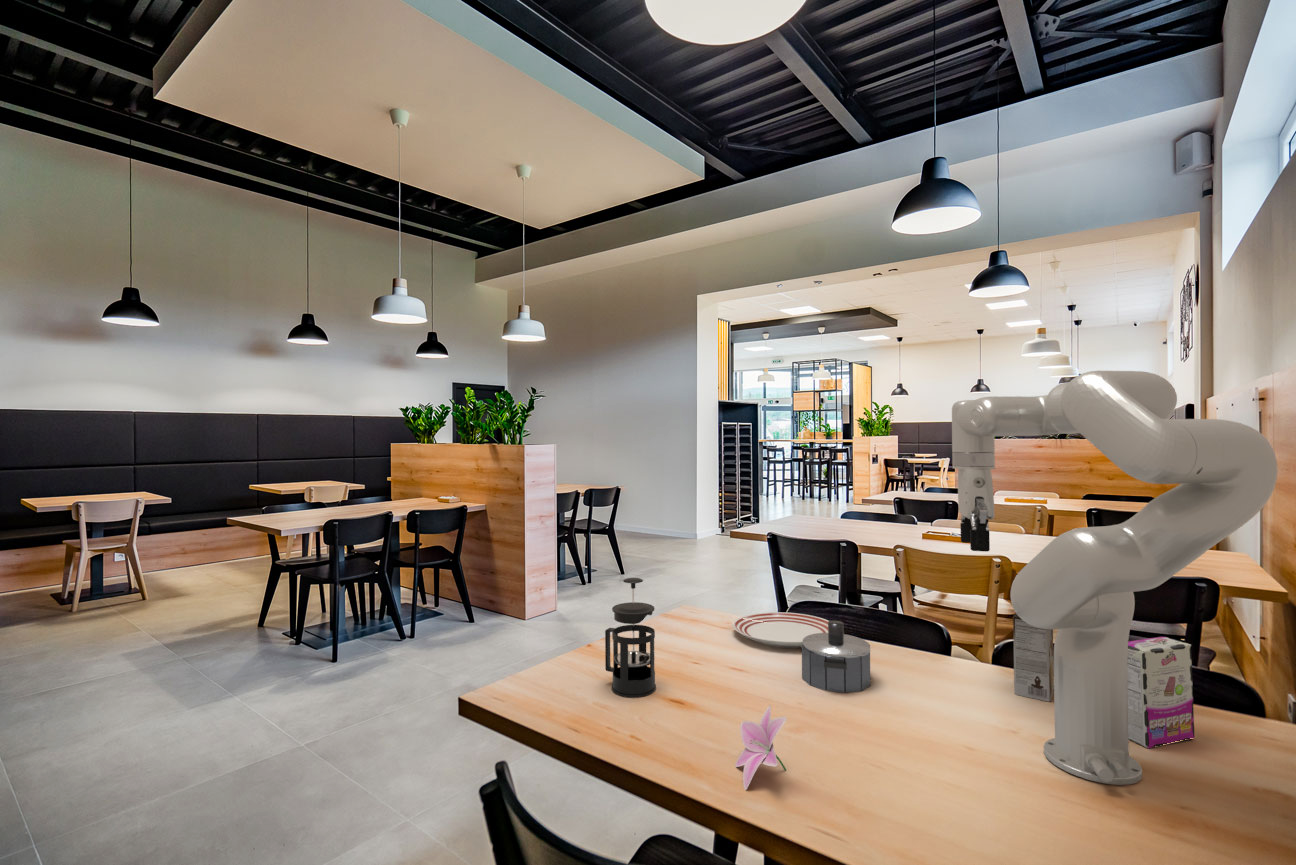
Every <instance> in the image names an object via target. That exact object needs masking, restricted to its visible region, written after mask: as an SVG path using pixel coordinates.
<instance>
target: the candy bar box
mask: <svg viewBox="0 0 1296 865" xmlns="http://www.w3.org/2000/svg"><path fill="white" fill-rule="evenodd" d="M1192 661H1193V660H1192V644H1190V643H1187V642H1183V641H1181V640H1177V639H1174V638H1171V637H1170V638H1169V637H1167V636H1158V637H1157V636H1156V637H1150V638H1143V639H1136V640H1131V641H1130V640H1128V673H1127V680H1128V738H1129V741H1130V740H1131V741H1130V742H1132V741H1133V743H1134V742H1135V744H1137V743H1138V744H1137V745H1139V744H1140V745H1139V746H1141V745H1142V747H1143V746H1144V747H1143V748H1147V749H1153V748H1152V747H1154V748H1156V747H1155V746H1159V747H1161V746H1160V745H1163V744H1167V743H1171V742H1175V741H1180V740H1185V739H1190V738H1194V737H1196V736H1195V716H1194V692H1193V687H1194V686H1193V667H1192V666H1193V665H1192V664H1193V663H1192Z"/></svg>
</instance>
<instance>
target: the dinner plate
mask: <svg viewBox="0 0 1296 865" xmlns="http://www.w3.org/2000/svg"><path fill="white" fill-rule="evenodd" d="M743 618H746V619H743ZM747 619H752V620H758V621H763V622H756V621H752V620H747ZM829 621H830V620H828V619H825V618H822V617H819V616H815V615H810V614H805V613H796V612H787V611H786V612H780V611H776V612H775V611H773V612H758V613H751V614H747V615H744V616H740V617H739V618H736V619H735V620H734V621H733V622H732V629H733V630H735V631H736V632H737V633H739V634H740V635H742V636H744V637H745V638H747V639H749V640H752V641H754V642H757V643H760V644H763V645H766V646H770V647H777V648H792V649H794V648H802V642H803V639H804V637H806V636H808V635H811V634H816V633H828V622H829ZM764 622H767V623H764ZM769 623H775V624H769Z"/></svg>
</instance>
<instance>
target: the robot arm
mask: <svg viewBox="0 0 1296 865" xmlns="http://www.w3.org/2000/svg"><path fill="white" fill-rule="evenodd" d="M1177 404H1178V396H1177V392H1176V389H1175V388H1174V385H1172V383H1171V382H1169V381H1168V380H1167V379H1165V378H1164V377H1163V376H1160V375H1158V374H1156V373H1152V372H1150V371H1149V372H1147V371H1142V370H1139V371H1138V370H1091V371H1087V372H1084V373H1080V374H1079V375H1077V376H1075V377H1073V378H1072V379H1071V380H1070V381H1069V382H1062V383H1060V384H1059V383H1058V385H1055V386H1054V387H1053V388H1052V389H1051V390H1050V391H1049V392H1048V394H1046V395H1045V394H1044V395H1038V396H1037V395H1036V396H1018V395H1016V396H983V397H979V398H976V399H967V400H966V399H965V400H958V401H956V402H954V403H953V404H952V407H951V450H952V454H951V455H952V460H951V461H952V462H951V463H952V469H954V470H955V469H958V470H957V473H958V475H957V500H958V502H957V503H958V511H959V513H960V515H961V516H960V524H959V526H960V542H961V543H963V544H964V543H965V544H970V550H971V551H973V552H990V549H991V548H990V546H991V545H990V542H991V541H990V525H989V520H993V519H995V515H996V514H995V498H994V485H993V475H992V470H995V469H996V459H995V458H996V456H995V454H996V453H995V451H996V450H995V447H996V446H995V437H1033V436H1034V437H1035V436H1036V437H1037V436H1050V435H1062V434H1066V435H1072V434H1080V435H1082V436H1083V437H1084V438H1085V439H1086V440H1087V441H1088V442H1089V443H1090V444H1092V445H1093V446H1094V447H1095V449H1097V450H1099V451H1100V452H1101V454H1103V455H1104V456H1105V457H1106V458H1107V459H1108V460H1109V461H1110V462H1112V463H1113V464H1114V465H1115V466H1116V467H1118V469H1120V470H1121V471H1122V472H1124V473H1125V474H1126V475H1128V476H1130V477H1132V478H1134V479H1135V480H1138V481H1141V482H1143V483H1144V482H1145V483H1147V484H1153V485H1154V484H1155V485H1156V484H1157V485H1171V484H1174V485H1176V484H1177V485H1176V486H1175V487H1173V488H1171V489H1169V490H1168V491H1166V492H1163V493H1161V494H1159V495H1158V496H1157V497H1155V498H1153V499H1152V500H1150V501H1148V503H1147V504H1146V505H1145V506H1144V507H1143V508H1141V509H1140V510H1139V511H1138V512H1136V513H1135V514H1134V515H1133V516H1132V517H1130V518H1129V519H1126V520H1125V521H1123V522H1121V523H1118V524H1112V525H1106V526H1103V525H1102V526H1088V527H1087V526H1086V527H1078V528H1074V529H1071V530H1068V531H1066V532H1063V533H1061V534H1060V535H1057V537H1055V538H1054V539H1053V540H1052V541H1050V542H1049V543H1048V544H1047V545H1046V546H1044V548H1043V549H1042V550H1040V552H1038V553H1037V554H1036V555H1035V556H1034V557H1033V558H1032V559H1031V560H1030V561H1029V562H1028V563H1026V565H1025V566H1024V567H1022V568H1021V569H1020V570H1019V572H1018V573H1017V574H1016V576H1015V577H1014V580H1012V584H1011V587H1010V594H1009V595H1010V601H1011V606H1012V608H1013V610H1014V613H1015V612H1016V613H1017V615H1018V616H1019V617H1020V618H1021V619H1022V620H1023V621H1025V622H1026V623H1028V624H1029V625H1031V626H1034V627H1037V628H1041V629H1053V630H1057V633H1056V636H1055V640H1054V643H1053V660H1054V689H1053V693H1054V694H1053V695H1054V697H1053V698H1054V701H1053V702H1054V705H1053V707H1054V737H1053V738H1050V739H1048V740H1046V741H1045V742H1044V743H1043V754H1044V755H1045V757H1046V759H1048V761H1049V762H1050V763H1051V764H1053V766H1056V767H1058V768H1059V769H1061V770H1063V771H1065V772H1066V773H1069V774H1071V775H1074V776H1076V777H1078V778H1079V777H1080V778H1082V779H1085V780H1087V781H1092V782H1095V783H1100V784H1105V785H1113V786H1114V785H1116V786H1124V785H1132V784H1137V783H1138V782H1140V781H1141V780H1142V778H1143V769H1142V768H1143V767H1142V766H1141V765H1140V763H1139V762H1138V761H1137V760H1136V759H1134V757H1132V756H1130V752H1129V750H1130V747H1129V746H1130V745H1129V744H1130V743H1129V741H1130V740H1129V738H1128V680H1127V673H1128V642H1129V639H1130V638H1129V637H1130V631H1131V626H1132V621H1133V618H1134V613H1135V604H1136V603H1135V602H1136V600H1135V592H1142V591H1149V590H1153V589H1156V588H1157V587H1160V586H1161V585H1162V584H1164V583H1165V582H1167V581H1168V580H1170V579H1171V578H1172V577H1173V576H1174V575H1176V574H1177V573H1179V572H1180V571H1181V570H1184V568H1186V567H1187V566H1189V565H1191V563H1193V562H1194V561H1195V560H1197V559H1199V558H1200V557H1201V556H1202V555H1204V554H1205V553H1206V552H1207V551H1209V550H1211V549H1212V548H1213V547H1215V546H1216V545H1217V544H1218V543H1220V542H1221V541H1223V540H1224V539H1226V538H1228V537H1229V536H1230V535H1232V534H1233V533H1235V532H1236V531H1237V530H1239V529H1240V528H1241V527H1243V526H1244V525H1246V524H1247V523H1248V522H1250V520H1252V519H1253V518H1254V517H1256V515H1258V513H1259V512H1260V511H1261V510H1262V509H1263V508H1264V507H1265V505H1266V504H1267V503H1268V501H1269V500H1270V498H1271V496H1272V495H1273V492H1274V491H1275V487H1276V483H1277V479H1278V461H1277V457H1276V454H1275V450H1274V448H1273V446H1272V444H1271V443H1270V441H1269V440H1268V439H1267V437H1265V436H1264V434H1262V432H1260V431H1259V430H1257V429H1255V428H1253V427H1252V426H1249V425H1247V424H1244V423H1241V422H1237V421H1232V420H1225V419H1219V418H1218V419H1216V418H1214V419H1213V418H1210V419H1209V418H1169V417H1170V416H1171V415H1172V413H1173V412H1174V411H1175V409H1176V407H1177Z"/></svg>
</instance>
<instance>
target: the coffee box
mask: <svg viewBox="0 0 1296 865" xmlns="http://www.w3.org/2000/svg"><path fill="white" fill-rule="evenodd" d="M1012 619H1013V620H1012V624H1013V625H1012V627H1013V629H1012V630H1013V686H1014V687H1013V688H1014V695H1015V696H1020V697H1025V698H1029V699H1032V700H1033V699H1034V700H1040V701H1044V702H1047V703H1050V702H1051V701H1052V697H1053V695H1054V694H1053V693H1054V629H1041V628H1037V627H1034V626H1031V625H1029V624H1028V623H1026V622H1025V621H1023V620H1022V619H1021V618H1020V617H1019V616H1018V615H1017V613H1016V612H1015V611H1014V614H1013V616H1012Z"/></svg>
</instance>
